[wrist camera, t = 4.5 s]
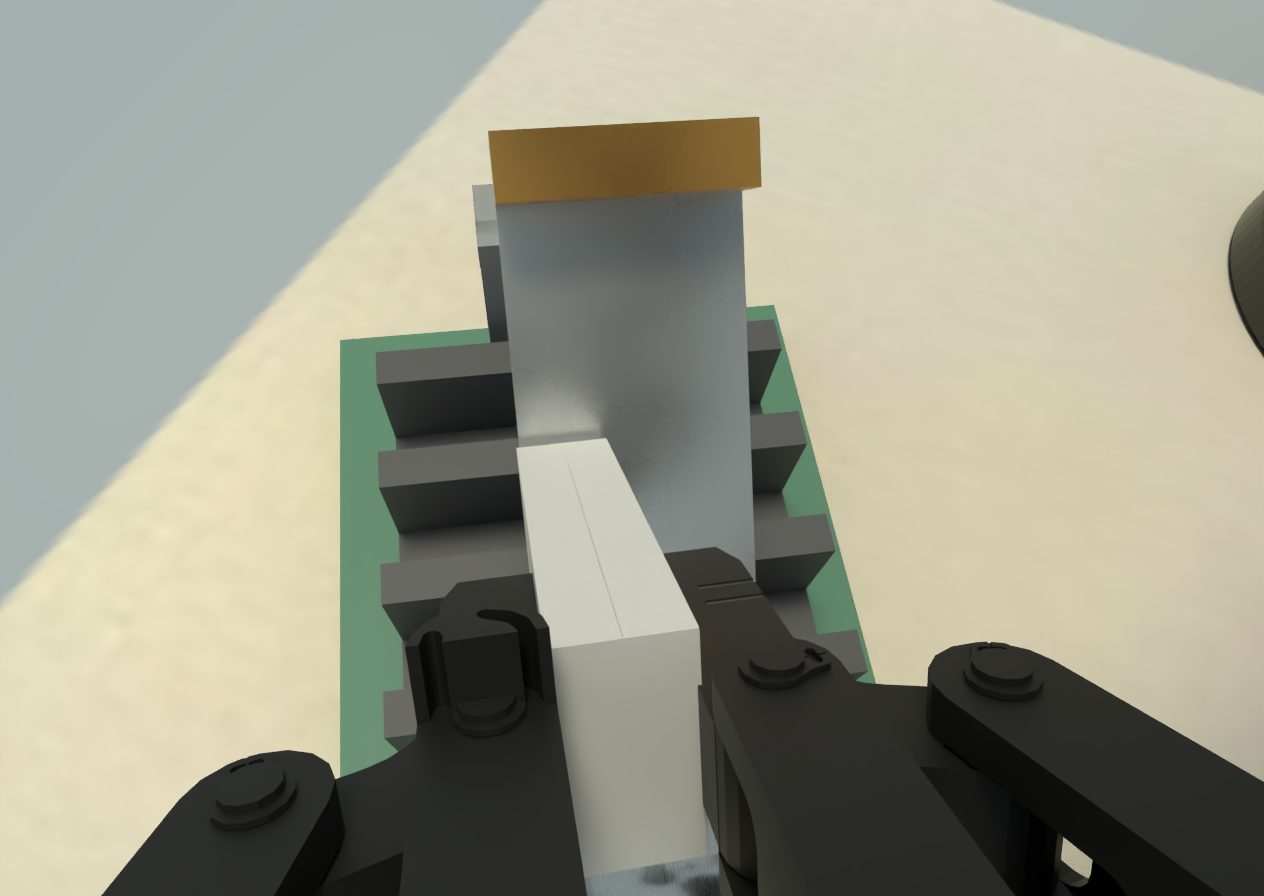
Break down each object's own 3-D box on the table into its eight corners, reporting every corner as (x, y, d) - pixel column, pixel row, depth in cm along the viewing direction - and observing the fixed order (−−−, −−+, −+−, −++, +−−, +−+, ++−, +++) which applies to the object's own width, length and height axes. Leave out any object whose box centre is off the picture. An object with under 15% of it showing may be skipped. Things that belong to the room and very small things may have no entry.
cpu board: (765, 329, 33) (835, 130, 24) (923, 938, 24) (1120, 957, 15) (349, 364, 31) (269, 161, 22) (353, 1041, 22) (223, 1128, 13)
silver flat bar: (722, 134, 15) (759, 116, 13) (751, 864, 19) (784, 944, 17) (489, 147, 15) (488, 130, 13) (563, 895, 18) (572, 981, 16)
